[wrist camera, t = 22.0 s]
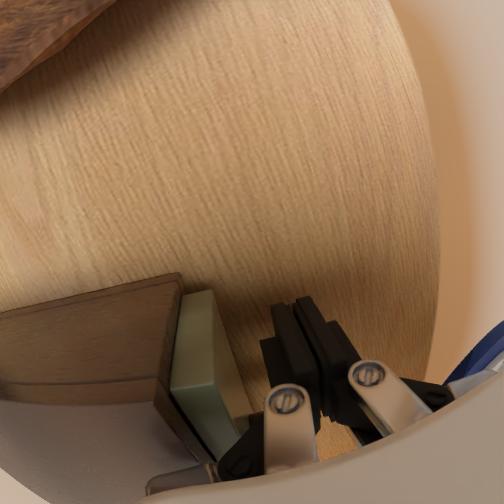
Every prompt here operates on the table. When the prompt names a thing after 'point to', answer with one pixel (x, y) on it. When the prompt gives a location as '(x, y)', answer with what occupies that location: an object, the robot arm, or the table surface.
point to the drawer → (208, 377)
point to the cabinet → (94, 394)
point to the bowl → (39, 31)
